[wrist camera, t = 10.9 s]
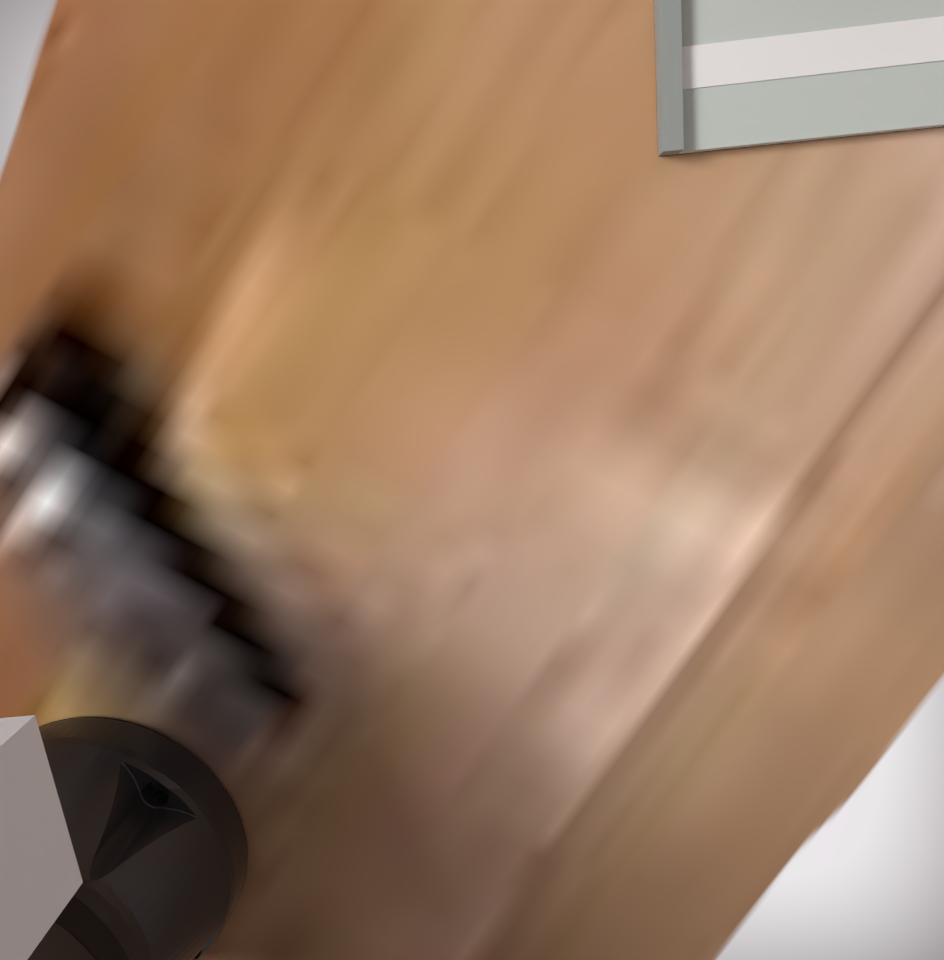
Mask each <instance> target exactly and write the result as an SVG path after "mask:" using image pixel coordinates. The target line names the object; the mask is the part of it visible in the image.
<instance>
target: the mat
mask: <svg viewBox="0 0 944 960" xmlns="http://www.w3.org/2000/svg"><path fill="white" fill-rule="evenodd" d="M654 8H655V48H656V87H657V127H658V156H664V155H674V154H683V153H693V152H702V151H712V150H722V149H731V148H741V147H751V146H760V145H770V144H780V143H789V142H799V141H808V140H818V139H828V138H837V137H847V136H857V135H866V134H876V133H886V132H895V131H905V130H914V129H924V128H934V127H943V126H944V0H654Z"/></svg>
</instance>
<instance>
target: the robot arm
mask: <svg viewBox="0 0 944 960" xmlns="http://www.w3.org/2000/svg"><path fill="white" fill-rule="evenodd" d="M246 868H247V846H246V839H245V834H244V830H243V827H242V823H241V820H240V818H239V815H238V813H237V810H236V808H235V806H234V804H233V802H232V801H231V799H230V797H229V795H228V794H227V792H226V791H225V789H224V788H223V786H222V785H221V784H220V783H219V781H218V780H217V779H216V777H215V776H214V775H213V774H212V773H211V772H210V771H209V770H208V769H207V768H206V767H205V766H204V765H203V764H202V763H201V762H200V761H199V760H198V759H196V758H195V757H194V756H193V755H192V754H190V753H189V752H188V751H186V750H185V749H184V748H182V747H181V746H179V745H178V744H176V743H174V742H173V741H171V740H169V739H167V738H166V737H164V736H162V735H160V734H158V733H156V732H153V731H151V730H148V729H146V728H143V727H140V726H137V725H134V724H131V723H127V722H123V721H118V720H113V719H106V718H93V717H83V718H71V719H64V720H59V721H55V722H51V723H48V724H44V725H42V726H39V727H38V724H37V720H36V717H35V715H31V716H20V717H9V718H0V960H198V959H199V958H200V957H201V956H202V955H203V954H204V953H205V952H206V951H207V950H208V949H209V948H210V947H211V945H212V944H213V943H214V941H215V940H216V939H217V937H218V936H219V934H220V933H221V931H222V929H223V927H224V926H225V924H226V922H227V920H228V918H229V915H230V913H231V911H232V909H233V907H234V905H235V903H236V901H237V899H238V897H239V894H240V892H241V890H242V887H243V883H244V880H245V875H246Z"/></svg>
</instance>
